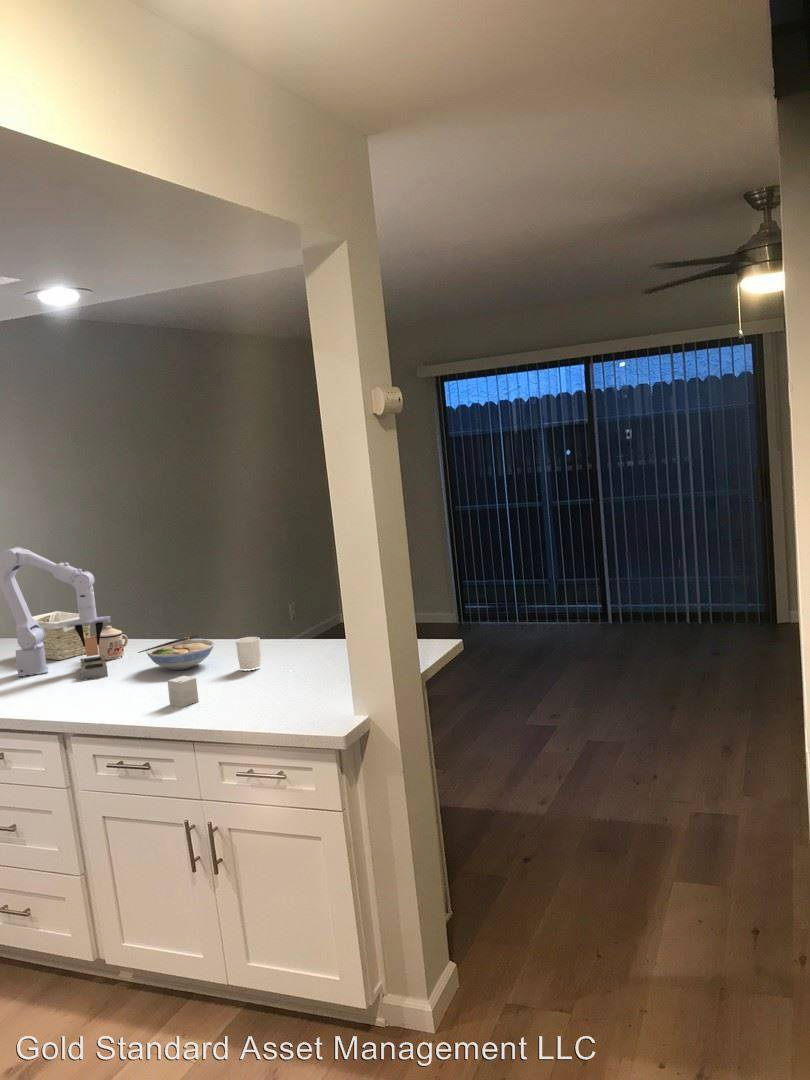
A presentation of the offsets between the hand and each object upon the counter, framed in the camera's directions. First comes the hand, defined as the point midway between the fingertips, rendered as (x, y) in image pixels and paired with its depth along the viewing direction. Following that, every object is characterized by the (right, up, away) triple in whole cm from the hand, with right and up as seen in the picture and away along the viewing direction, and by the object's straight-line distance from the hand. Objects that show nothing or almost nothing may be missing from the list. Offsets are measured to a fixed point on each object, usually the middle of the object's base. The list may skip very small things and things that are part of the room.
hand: (91, 645), depth 315 cm
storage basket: (-22, -7, +29) cm, 37 cm away
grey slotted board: (+2, -9, -4) cm, 10 cm away
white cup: (+58, -6, -16) cm, 61 cm away
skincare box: (+45, -11, -51) cm, 69 cm away
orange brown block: (0, -3, 0) cm, 3 cm away
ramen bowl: (+33, -7, -7) cm, 35 cm away
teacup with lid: (+3, -6, +18) cm, 19 cm away
